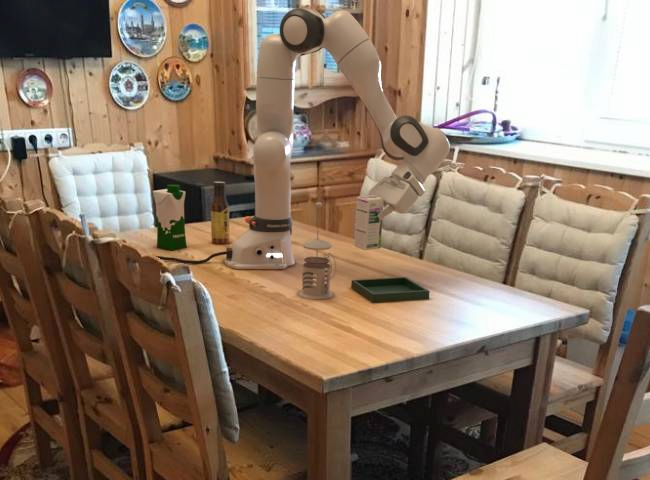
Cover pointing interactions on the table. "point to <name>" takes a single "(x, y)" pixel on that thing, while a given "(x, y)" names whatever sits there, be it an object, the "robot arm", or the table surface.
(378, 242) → the syrup box
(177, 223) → the milk carton
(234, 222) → the table surface
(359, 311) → the table surface
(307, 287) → the french press
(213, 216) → the sauce bottle
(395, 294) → the tray
